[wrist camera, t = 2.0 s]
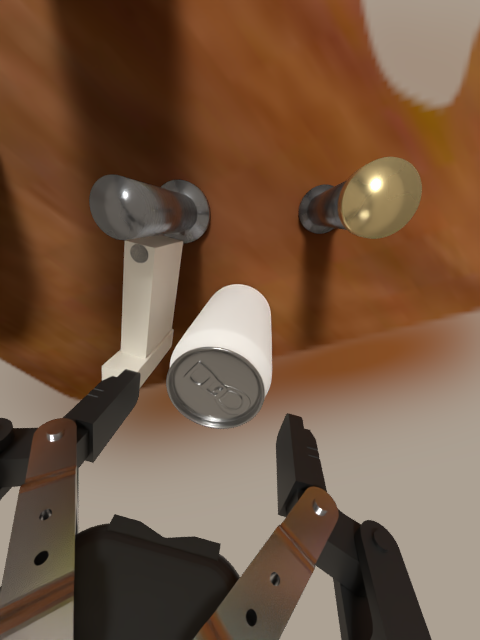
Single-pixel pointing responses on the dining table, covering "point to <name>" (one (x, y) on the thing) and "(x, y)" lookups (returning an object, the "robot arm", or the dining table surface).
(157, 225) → the hinge post
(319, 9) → the dining table surface
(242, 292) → the can
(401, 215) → the post
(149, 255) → the gate
